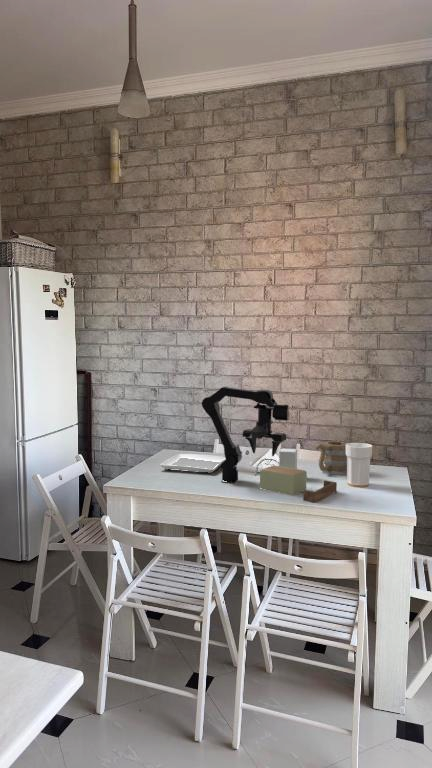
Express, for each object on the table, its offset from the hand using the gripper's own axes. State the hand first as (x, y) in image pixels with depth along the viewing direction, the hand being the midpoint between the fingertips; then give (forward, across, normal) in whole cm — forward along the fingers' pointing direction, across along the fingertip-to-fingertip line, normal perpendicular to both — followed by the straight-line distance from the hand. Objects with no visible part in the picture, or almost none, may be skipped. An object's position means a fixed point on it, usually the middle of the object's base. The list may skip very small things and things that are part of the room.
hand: (263, 454), depth 243 cm
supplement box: (+13, +5, +16) cm, 21 cm away
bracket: (+12, +28, -5) cm, 31 cm away
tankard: (+12, +18, +34) cm, 41 cm away
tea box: (+13, +11, -3) cm, 17 cm away
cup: (+12, +36, +21) cm, 43 cm away
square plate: (+14, -42, +10) cm, 46 cm away
